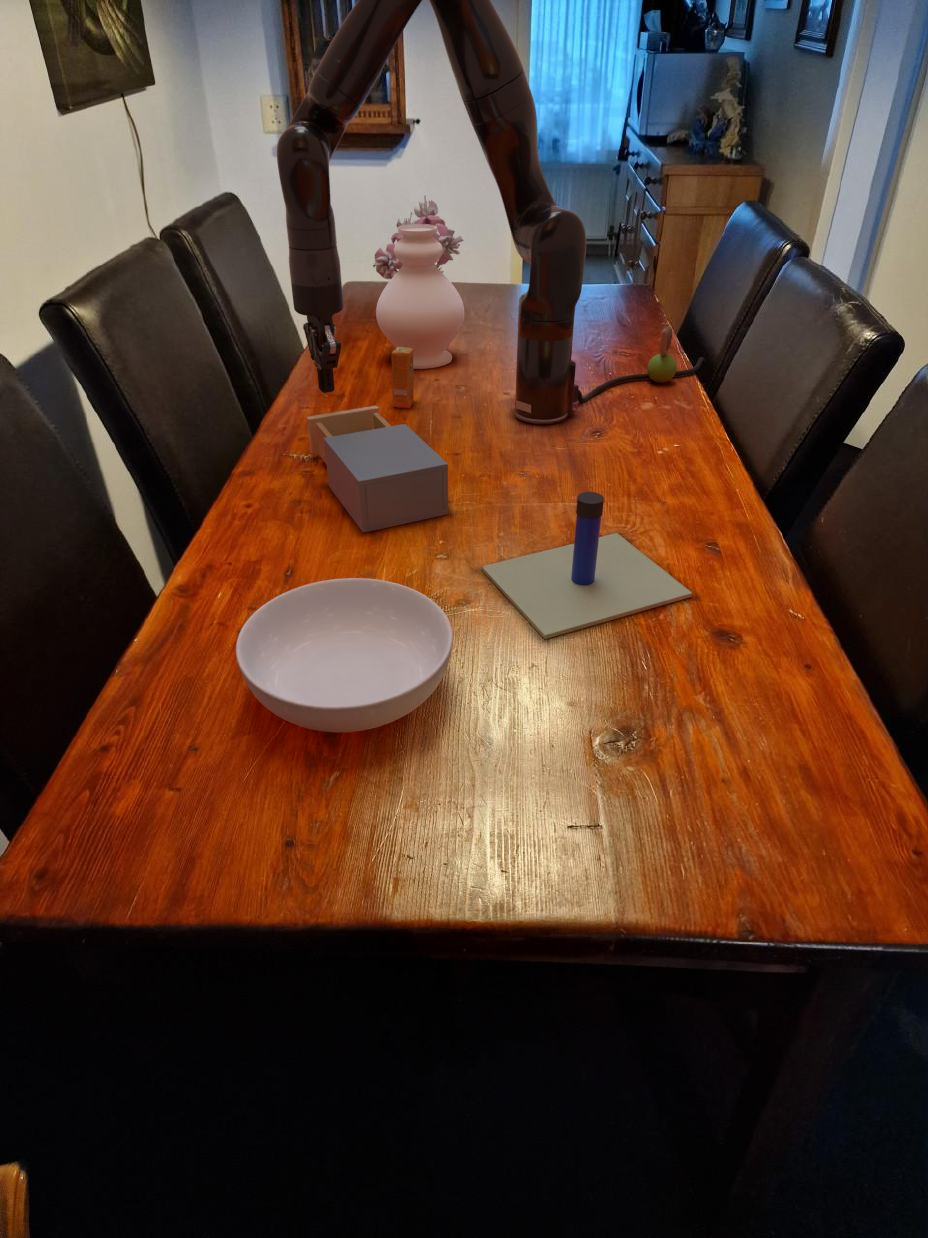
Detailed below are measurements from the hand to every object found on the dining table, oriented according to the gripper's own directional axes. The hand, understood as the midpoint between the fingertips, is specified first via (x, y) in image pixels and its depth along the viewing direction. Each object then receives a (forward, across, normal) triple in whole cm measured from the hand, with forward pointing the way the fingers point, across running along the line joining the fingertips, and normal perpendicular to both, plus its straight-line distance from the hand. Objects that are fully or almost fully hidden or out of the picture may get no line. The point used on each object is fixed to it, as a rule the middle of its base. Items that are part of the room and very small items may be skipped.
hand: (326, 390), depth 133 cm
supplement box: (+8, +8, -16) cm, 19 cm away
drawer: (+7, -13, 0) cm, 14 cm away
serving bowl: (+8, -64, +18) cm, 67 cm away
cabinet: (+8, -26, 0) cm, 27 cm away
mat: (+8, -57, -14) cm, 60 cm away
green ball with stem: (+7, -2, -65) cm, 66 cm away
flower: (+8, +63, -41) cm, 75 cm away
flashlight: (+7, -57, -14) cm, 59 cm away
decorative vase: (+8, +31, -29) cm, 43 cm away
